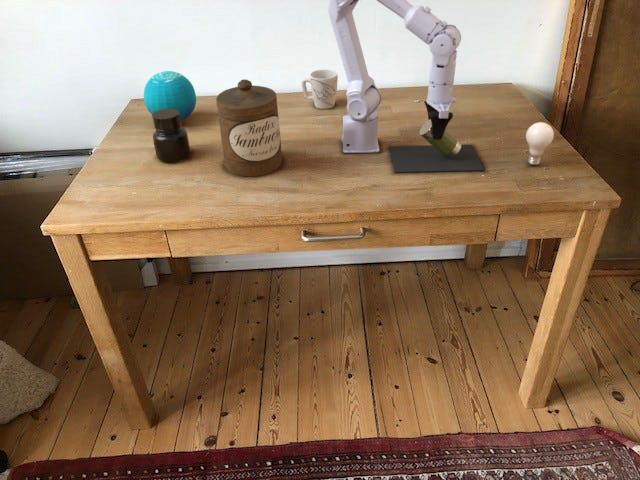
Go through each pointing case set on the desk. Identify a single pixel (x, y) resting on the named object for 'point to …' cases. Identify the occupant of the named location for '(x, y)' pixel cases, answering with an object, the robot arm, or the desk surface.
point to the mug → (322, 88)
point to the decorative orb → (170, 93)
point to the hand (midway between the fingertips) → (435, 134)
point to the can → (441, 141)
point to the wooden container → (249, 129)
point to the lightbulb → (538, 140)
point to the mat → (433, 160)
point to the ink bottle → (170, 136)
